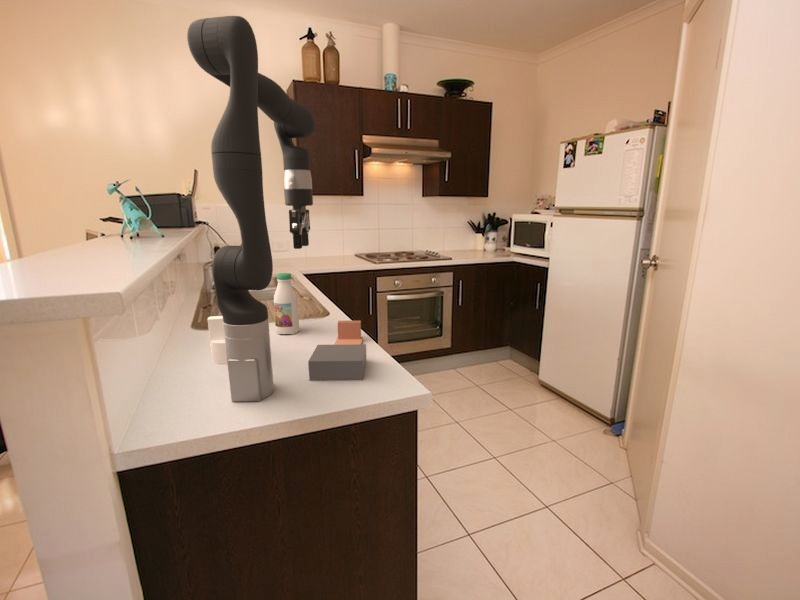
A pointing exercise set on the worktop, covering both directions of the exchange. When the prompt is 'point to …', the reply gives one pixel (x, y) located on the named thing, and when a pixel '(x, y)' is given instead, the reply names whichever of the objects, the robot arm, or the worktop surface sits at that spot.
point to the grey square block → (338, 362)
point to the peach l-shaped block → (349, 333)
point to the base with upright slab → (217, 339)
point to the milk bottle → (285, 306)
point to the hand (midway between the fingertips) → (301, 247)
